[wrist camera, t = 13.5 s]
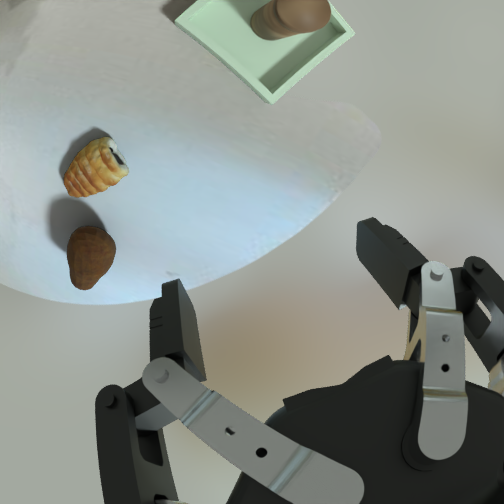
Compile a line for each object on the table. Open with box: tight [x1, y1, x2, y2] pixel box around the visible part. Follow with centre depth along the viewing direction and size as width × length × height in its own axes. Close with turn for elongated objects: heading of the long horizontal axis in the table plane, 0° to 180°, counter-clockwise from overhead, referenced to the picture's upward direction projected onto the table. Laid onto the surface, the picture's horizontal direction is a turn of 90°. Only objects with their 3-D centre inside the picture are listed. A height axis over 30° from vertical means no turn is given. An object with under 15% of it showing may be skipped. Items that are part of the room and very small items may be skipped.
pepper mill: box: [250, 0, 331, 41], centre depth 22 cm, size 5×5×11 cm
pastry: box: [64, 137, 129, 198], centre depth 31 cm, size 9×7×4 cm
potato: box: [67, 226, 116, 290], centre depth 36 cm, size 7×10×8 cm
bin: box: [175, 0, 355, 105], centre depth 26 cm, size 16×16×3 cm
